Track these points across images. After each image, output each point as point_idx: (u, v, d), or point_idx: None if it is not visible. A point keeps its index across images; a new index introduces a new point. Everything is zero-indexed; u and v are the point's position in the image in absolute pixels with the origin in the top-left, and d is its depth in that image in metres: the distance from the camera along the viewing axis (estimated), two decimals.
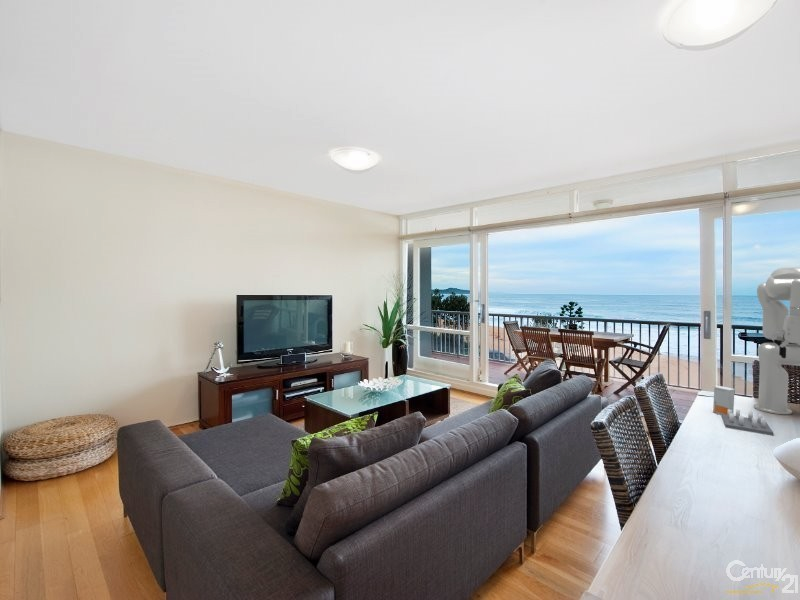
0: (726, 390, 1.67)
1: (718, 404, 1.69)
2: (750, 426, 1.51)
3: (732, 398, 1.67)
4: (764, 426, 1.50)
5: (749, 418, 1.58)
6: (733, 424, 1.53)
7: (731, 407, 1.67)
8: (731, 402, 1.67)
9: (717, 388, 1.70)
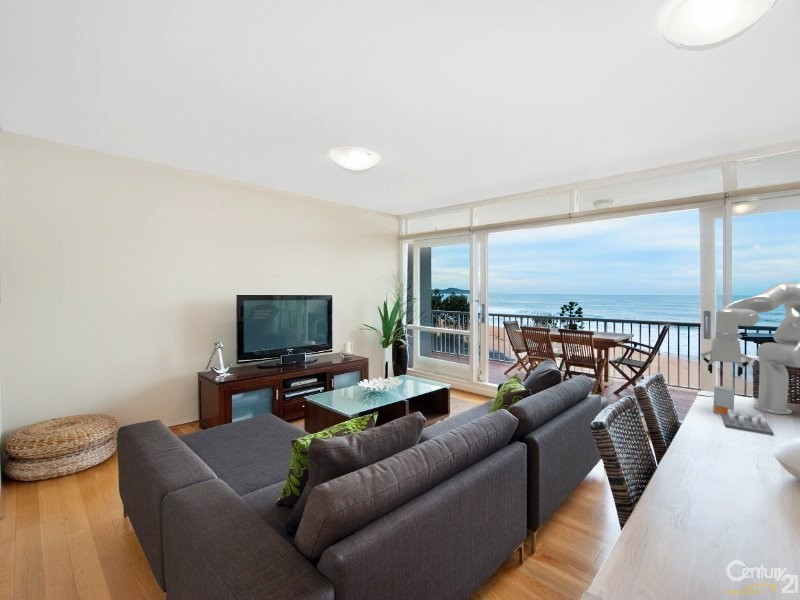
0: (726, 390, 1.67)
1: (718, 404, 1.69)
2: (750, 426, 1.51)
3: (732, 398, 1.67)
4: (764, 426, 1.50)
5: (749, 418, 1.58)
6: (733, 424, 1.53)
7: (731, 407, 1.67)
8: (731, 402, 1.67)
9: (717, 388, 1.70)
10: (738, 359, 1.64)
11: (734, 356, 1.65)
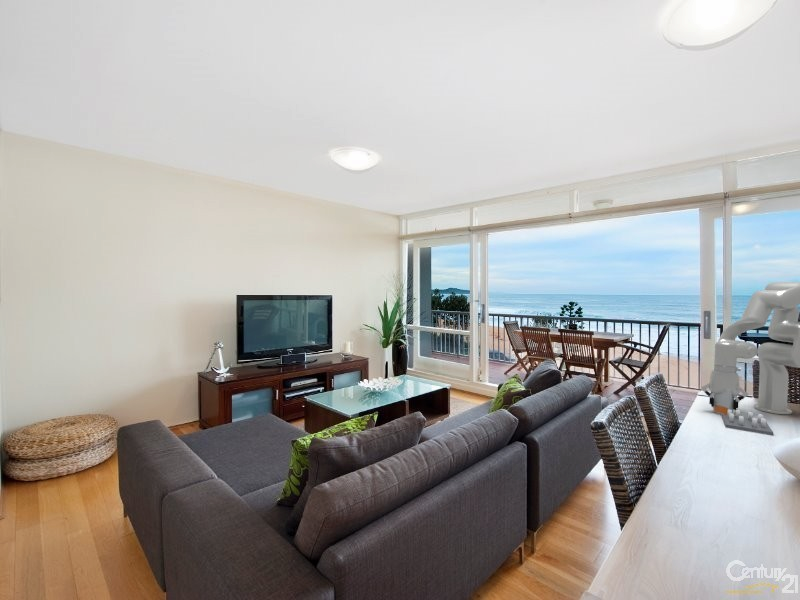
0: (726, 390, 1.67)
1: (718, 404, 1.69)
2: (750, 426, 1.51)
3: (732, 398, 1.67)
4: (764, 426, 1.50)
5: (749, 418, 1.58)
6: (733, 424, 1.53)
7: (731, 407, 1.67)
8: (731, 402, 1.67)
9: None
10: (737, 392, 1.65)
11: (733, 389, 1.66)
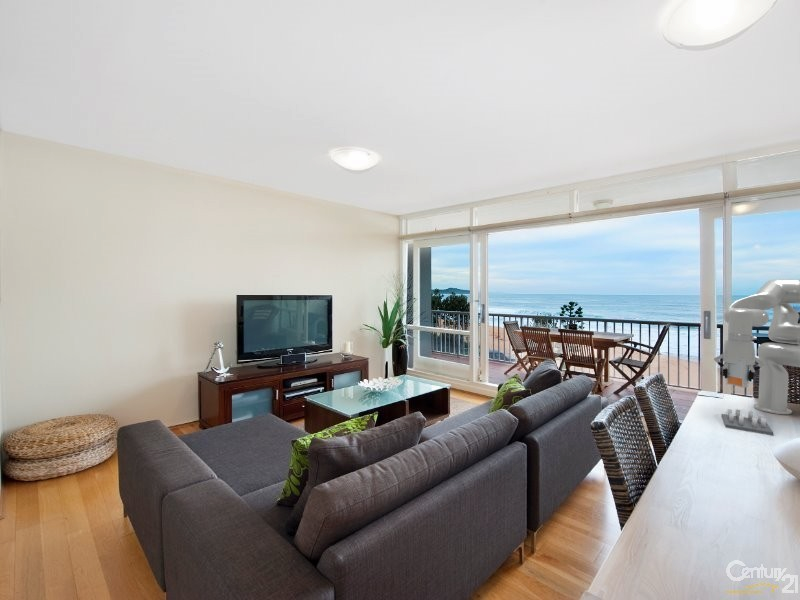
0: (740, 360, 1.57)
1: (731, 375, 1.60)
2: (750, 426, 1.51)
3: (747, 368, 1.57)
4: (764, 426, 1.50)
5: (749, 418, 1.58)
6: (733, 424, 1.53)
7: (745, 378, 1.57)
8: (746, 373, 1.57)
9: None
10: (752, 362, 1.56)
11: (748, 359, 1.56)
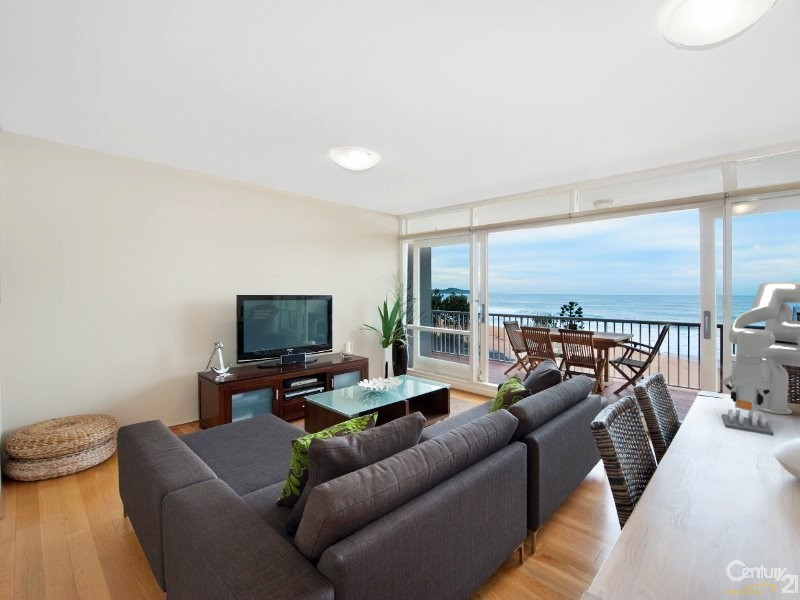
0: (750, 383, 1.52)
1: (740, 398, 1.55)
2: (750, 426, 1.51)
3: (756, 392, 1.52)
4: (764, 426, 1.50)
5: (749, 418, 1.58)
6: (733, 424, 1.53)
7: (755, 402, 1.52)
8: (755, 396, 1.52)
9: None
10: (762, 385, 1.51)
11: (757, 382, 1.51)
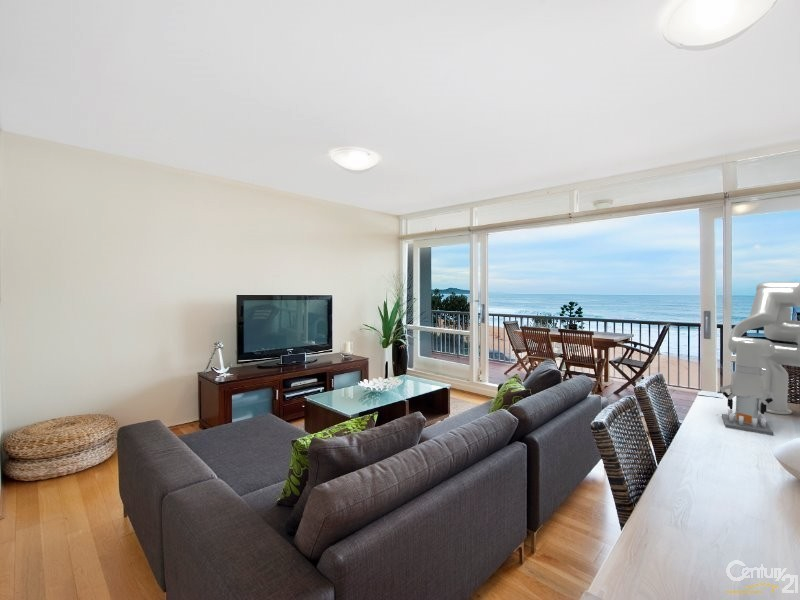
0: (750, 397, 1.53)
1: (740, 411, 1.55)
2: (750, 426, 1.51)
3: (757, 405, 1.53)
4: (764, 426, 1.50)
5: None
6: (733, 424, 1.53)
7: (755, 416, 1.53)
8: (755, 410, 1.52)
9: None
10: (761, 395, 1.51)
11: (757, 392, 1.51)
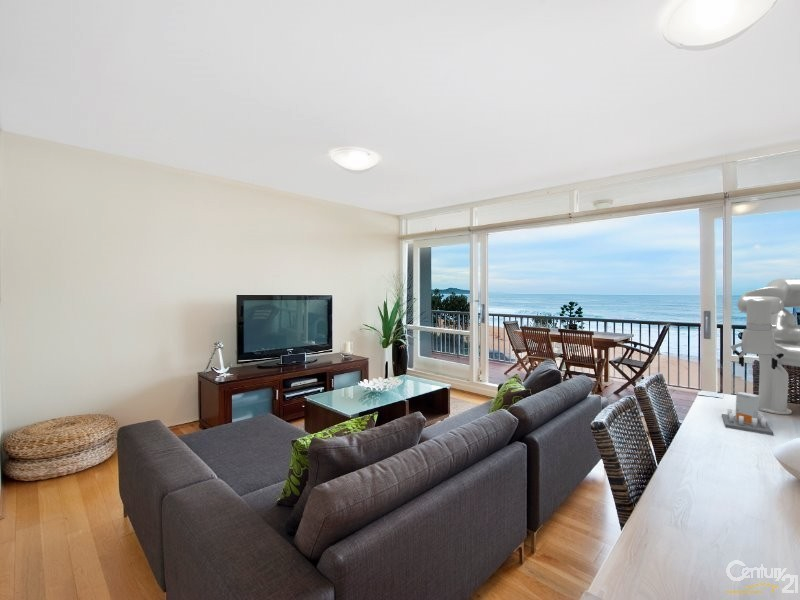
0: (750, 397, 1.53)
1: (740, 411, 1.55)
2: (750, 426, 1.51)
3: (757, 405, 1.53)
4: (764, 426, 1.50)
5: None
6: (733, 424, 1.53)
7: (755, 416, 1.53)
8: (755, 410, 1.52)
9: (740, 394, 1.56)
10: (772, 351, 1.54)
11: (768, 348, 1.54)
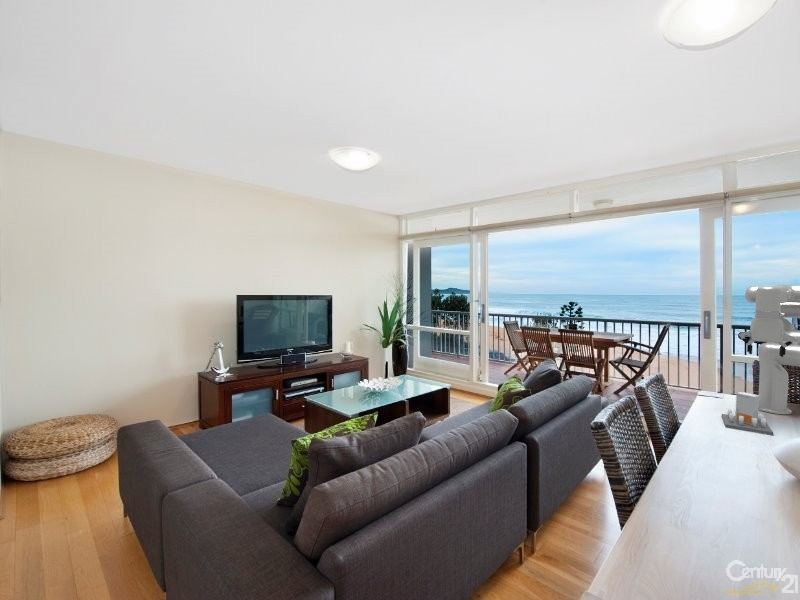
0: (750, 397, 1.53)
1: (740, 411, 1.55)
2: (750, 426, 1.51)
3: (757, 405, 1.53)
4: (764, 426, 1.50)
5: None
6: (733, 424, 1.53)
7: (755, 416, 1.53)
8: (755, 410, 1.52)
9: (740, 394, 1.56)
10: (781, 338, 1.56)
11: (776, 335, 1.57)
